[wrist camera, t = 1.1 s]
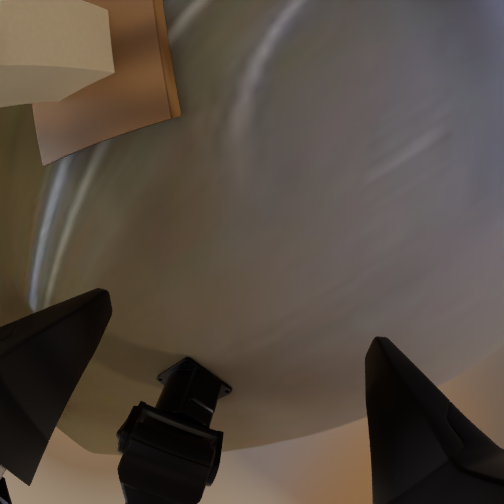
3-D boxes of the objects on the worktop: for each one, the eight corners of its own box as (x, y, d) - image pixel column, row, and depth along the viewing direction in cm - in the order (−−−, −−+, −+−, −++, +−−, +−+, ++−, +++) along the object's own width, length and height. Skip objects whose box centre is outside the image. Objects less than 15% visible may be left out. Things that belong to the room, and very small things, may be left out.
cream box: (115, 72, 15) (-4, 65, 6) (59, 101, 16) (-49, 117, 7) (108, 10, 13) (4, -23, 4) (54, 42, 14) (-46, 37, 5)
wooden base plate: (185, 118, 18) (171, 118, 16) (61, 160, 21) (42, 166, 18) (160, -37, 12) (147, -50, 10) (45, 25, 15) (28, 22, 13)
